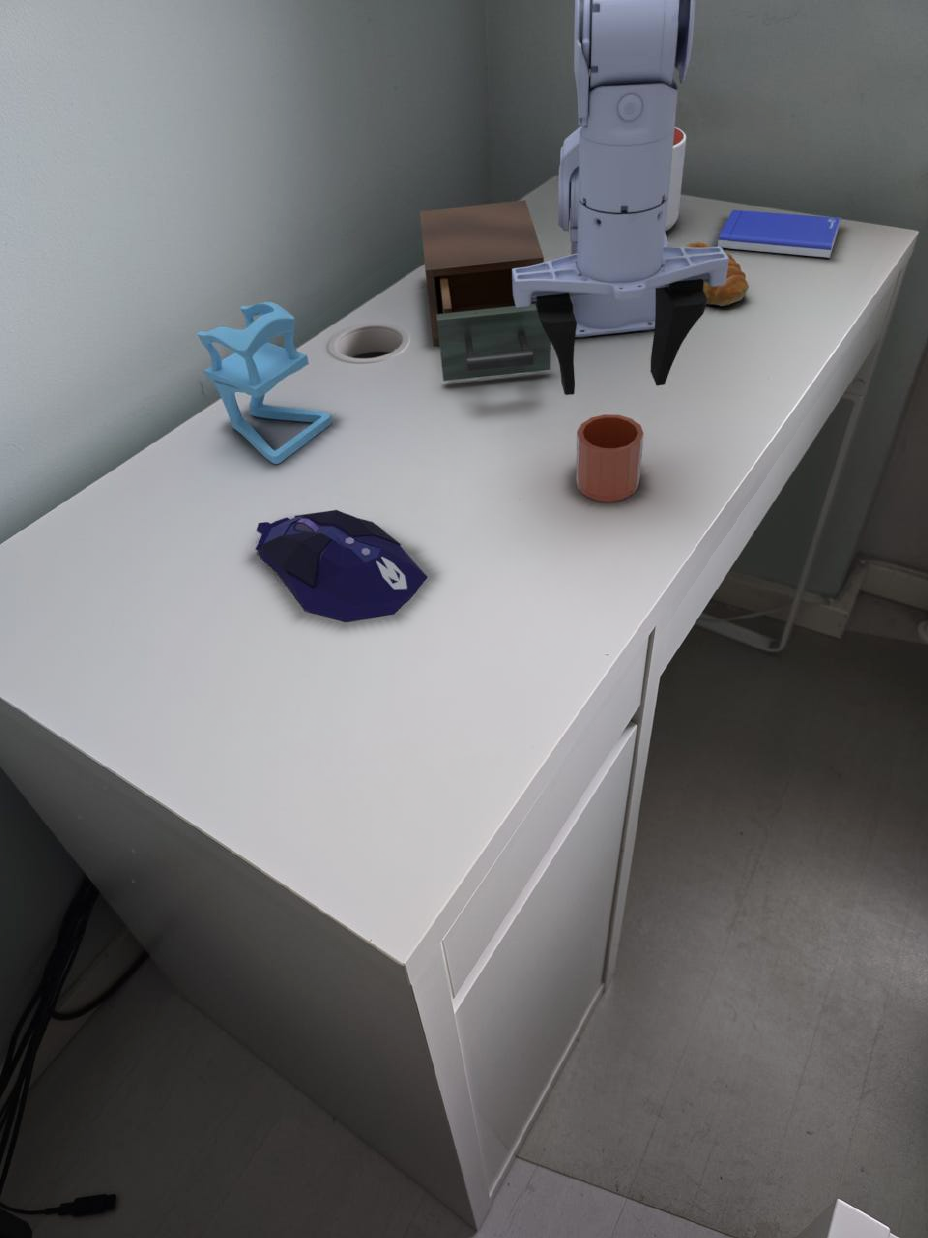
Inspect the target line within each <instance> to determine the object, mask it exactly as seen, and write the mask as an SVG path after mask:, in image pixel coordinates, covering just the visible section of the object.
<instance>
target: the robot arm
mask: <svg viewBox="0 0 928 1238" xmlns="http://www.w3.org/2000/svg"><path fill="white" fill-rule="evenodd" d="M695 19H696V0H574V33H573V34H574V36H573V37H574V38H573V39H574V40H573V41H574V44H573V57H574V58H573V73H574V78H575V79H574V80H575V85H576V92H577V93H576V94H577V125H578V127H577V129H576V130H574V131H573V132H572V133H571V134H570V135H568V136H567V137H566V138H565V139H564V141H563V145H562V146H561V147H560V155H559V157H560V158H559V166H558V187H557V188H558V190H557V193H558V195H557V199H558V200H557V220H558V224H557V225H558V226H559V227H560V229H562V232H569V231H570V232H569V233H570V242H571V245H570V247H571V248H570V254H569V255H566V256H562V257H558V258H554V259H552V260H547V261H544V263H540V264H536V265H532V266H527V267H521V268H514V269H512V283H513V297H514V301H515V305H516V307H517V308H518V307H527V306H530V305H531V302H532V301H535V305H536V308H537V312H538V315H539V319H540V322H541V324H542V326H543V328H544V330H545V332H546V334H547V336H548V338H549V340H550V345H551V346H552V348H553V351H554V353H555V355H556V358H557V362H558V366H559V367H558V368H559V375H560V383H561V386H562V389H563V393H564V395H565V396H571V395H575V389H576V377H575V375H576V374H575V346H576V345H575V344H576V338H584V337H591V336H601V335H612V334H620V333H631V332H639V331H650V330H654V331H653V332H654V333H653V339H652V347H651V353H650V374H651V377H652V379H653V381H654V383H655V386H656V387H657V386H664V385H666V383H667V381H668V377H669V374H670V372H671V371H670V370H671V368H672V366H673V363H674V361H675V359H676V356H677V354H678V352H679V350H680V348H681V346H682V345H683V343H684V341H685V340H686V338H687V336H688V335H689V333H690V331H691V330H692V329H693V327H694V326H695V325H696V324H697V322H698V320H700V319H701V317H702V316H703V315H704V313H705V310H706V307H707V304H706V302H707V297H706V295H705V293H704V292H703V285H704V283H708V285H709V286H711V287H716V286H724V285H725V283H726V276H727V269H728V262H729V258H728V256H727V255H726V251H725V250H724V248H722V247H718V246H711V247H710V246H709V247H708V248H691V247H685V246H669V242H668V237H667V233H666V232H665V226H666V215H667V204H668V194H669V183H670V172H671V161H672V150H673V139H674V127H676V115H677V105H678V95H679V94H678V93H679V88H678V87H679V86H678V84H677V83H676V81H675V79H674V78H673V77H674V71H675V69H676V70H677V72H678V80H679V83H680V85H684V83H685V80H686V76H687V73H688V69H689V66H690V62H691V56H692V49H693V41H694V31H695ZM724 251H725V252H724Z"/></svg>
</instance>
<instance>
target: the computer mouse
mask: <svg viewBox="0 0 928 1238" xmlns="http://www.w3.org/2000/svg"><path fill="white" fill-rule="evenodd" d="M255 531H256V532H257V533H259V534H260V537H259V541H258V543H257V545H256V547H255V548H254V550H255V551H257V552H258V554H259V558H260V559H261V560H262V561H263V562H264V563H265V564H267V565H268V566H269V567H270V568H271V569H273V570H274V571H275V572H276V574H277V575H278V577H279V578H280V579H281V581H282V582H283V583H284V584H285V586H286V588H287V589H288V590H289V591H290V593H291V594H292V595H293V597H294V599H295V600H296V601H297V603H298V604H299V605H300V607H301V608H302V609H303V611H304V612H307V613H310V614H314V615H318V616H323V617H327V618H331V619H335V620H338V621H342V622H352V621H358V620H365V619H371V618H378V617H383V616H390V615H395V614H396V613H397V612H398V611H399V610H400V609H401V608H402V607H403V606H404V605H405V604H406V603H407V602H408V601H409V600H410V599H411V598H412V597H413V596H414V594H415V593H416V592H417V591H418V589H419V588H420V587H421V586H422V585H423V584H424V582H425V580H427V579H428V576H427V574H426V573H425V572H424V571H423V569H421V567H420V566H419V565H418V564H416V562H415V561H414V560H413V559H412V558H411V556H409V555H408V553H407V552H406V551H405V549H404V548H403V547H402V546H401V545H402V543H400V542H399V541H397V539H396V538H394V537H393V536H391V535H390V534H389V533H388V532H386V531H385V530H384V529H383V528H381V527H380V526H379V525H378V524H376V523H375V522H374V521H371V520H367V519H363V518H359V517H356V516H353V515H351V514H348V513H346V512H343V511H340V510H339V509H332V510H326V511H320V512H319V511H318V512H311V513H305V514H296V515H294V516H293V517H292V518H289V517H284V518H281V519H278V520H275V521H273V522H268V521H263V522H258V525H257V527H256V530H255Z"/></svg>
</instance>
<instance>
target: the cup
mask: <svg viewBox="0 0 928 1238" xmlns="http://www.w3.org/2000/svg"><path fill="white" fill-rule="evenodd" d="M686 145H687V135H686V133H685V131H683V130H682V129H681V128H679V127H677V126H675V127H674V139H673V150H672V161H671V172H670V183H669V194H668V204H667V215H666V226H665V233H666V232H667V231H669V230H670V229H671V228H673V226H674V225H675V224H676V222H677V220H678V218H679V215H680V214H679V213H680V206H681V205H680V204H681V203H680V202H681V195H682V184H683V176H684V175H683V174H684V167H685V155H686Z"/></svg>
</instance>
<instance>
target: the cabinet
mask: <svg viewBox="0 0 928 1238" xmlns="http://www.w3.org/2000/svg"><path fill="white" fill-rule="evenodd" d="M419 219H420V229H421V239H422V249H423V262H424V270H425V280H426V289H427V299H428V308H429V316H430V317H429V318H430V327H431V336H432V345H433V347H435V346H436V347H437V346H440V345H439V335H438V325H437V316H436V315H437V314H443V313H442V303H441V293H440V283H439V276H446V275H456V274H465V273H474V272H484V271H493V270H503V269H512V268H521V267H527V266H532V265H536V264H540V263H544V262H545V257H544V254H543V251H542V248H541V244H540V242H539V238H538V235H537V232H536V229H535V226H534V225H535V224H534V223H533V220H532V216H531V213H530V210H529V207H528V204H527V200H525V199H523V200H515V201H504V202H495V203H487V204H478V205H477V204H476V205H468V206H457V207H448V208H438V209H430V210H429V209H428V210H420V211H419Z"/></svg>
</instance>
